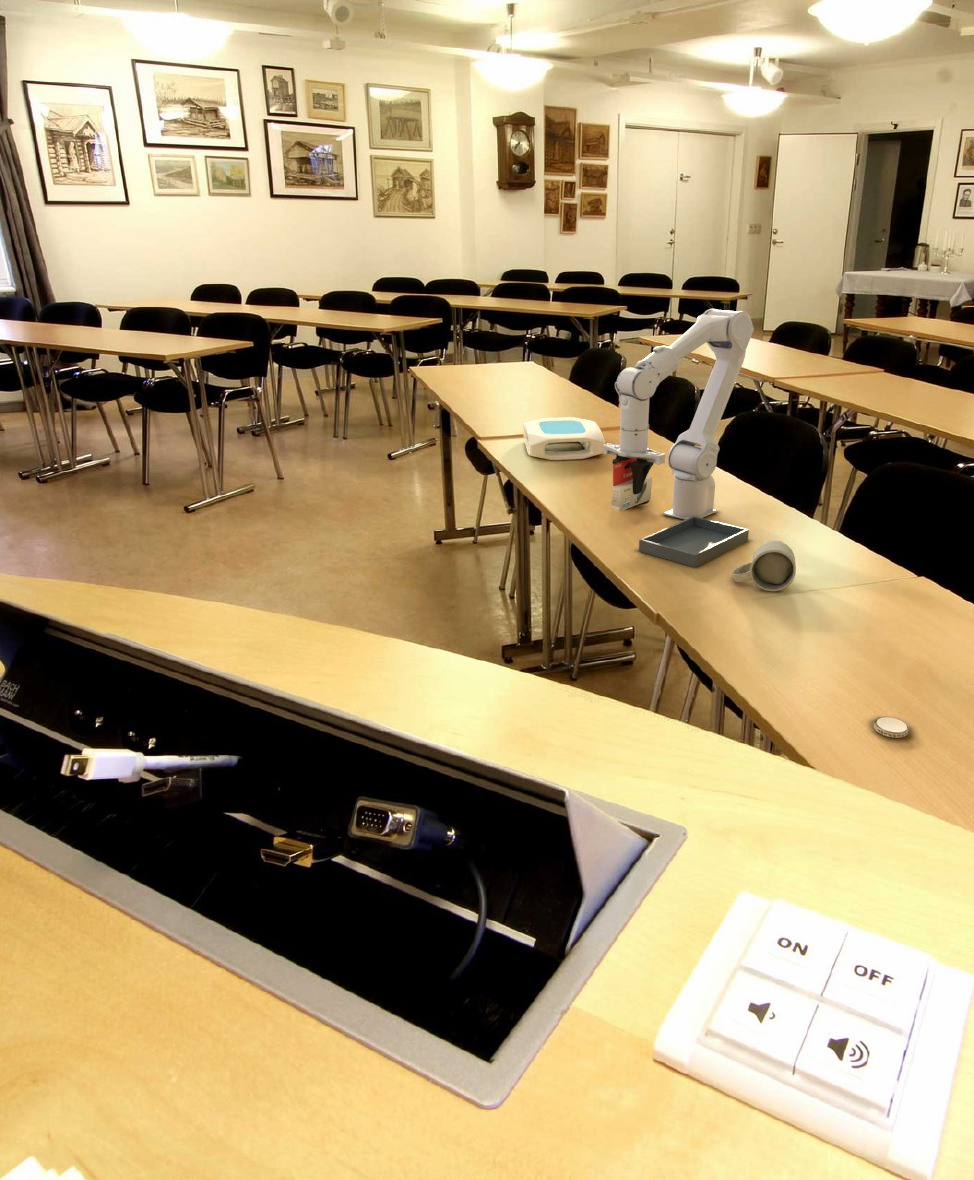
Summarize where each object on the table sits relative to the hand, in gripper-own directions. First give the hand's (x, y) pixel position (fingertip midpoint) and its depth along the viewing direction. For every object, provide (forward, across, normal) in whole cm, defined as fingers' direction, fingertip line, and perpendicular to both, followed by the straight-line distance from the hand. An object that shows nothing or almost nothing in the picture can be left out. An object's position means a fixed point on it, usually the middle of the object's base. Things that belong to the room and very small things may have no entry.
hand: (631, 491), depth 177 cm
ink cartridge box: (+3, 0, 0) cm, 3 cm away
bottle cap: (+8, +72, -40) cm, 83 cm away
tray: (+8, +16, 0) cm, 18 cm away
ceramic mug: (+8, +36, -8) cm, 38 cm away
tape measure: (+8, -10, +14) cm, 19 cm away
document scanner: (+8, -59, +44) cm, 74 cm away
